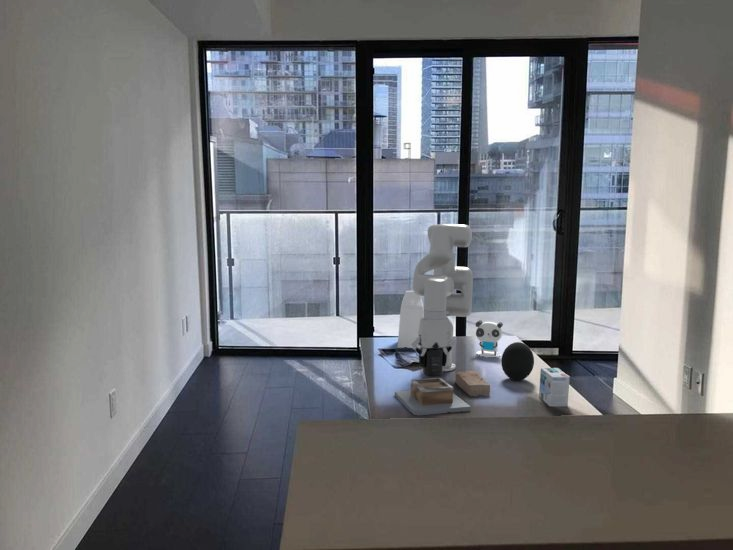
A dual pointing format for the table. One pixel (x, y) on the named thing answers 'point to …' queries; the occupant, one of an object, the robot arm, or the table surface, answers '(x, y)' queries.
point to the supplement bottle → (433, 361)
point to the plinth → (431, 391)
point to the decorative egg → (517, 361)
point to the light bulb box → (554, 387)
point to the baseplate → (420, 409)
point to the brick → (472, 383)
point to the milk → (410, 319)
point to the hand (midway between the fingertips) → (432, 365)
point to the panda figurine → (488, 337)
